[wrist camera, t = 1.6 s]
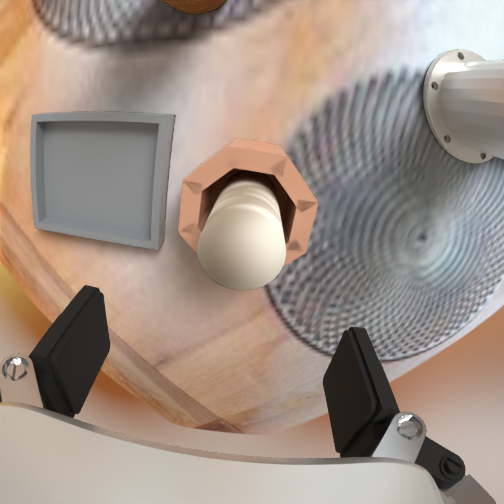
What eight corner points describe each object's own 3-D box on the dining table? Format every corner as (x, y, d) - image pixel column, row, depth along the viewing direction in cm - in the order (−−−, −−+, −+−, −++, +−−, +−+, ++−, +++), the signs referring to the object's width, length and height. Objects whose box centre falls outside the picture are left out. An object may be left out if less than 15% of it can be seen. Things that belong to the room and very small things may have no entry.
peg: (281, 174, 27) (294, 218, 16) (270, 225, 29) (276, 296, 19) (226, 165, 27) (201, 203, 16) (219, 216, 29) (193, 283, 18)
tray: (175, 114, 26) (168, 115, 24) (164, 241, 32) (158, 250, 30) (43, 113, 25) (31, 114, 23) (45, 221, 31) (34, 228, 29)
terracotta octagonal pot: (311, 151, 27) (327, 164, 21) (290, 248, 31) (296, 284, 25) (204, 133, 27) (187, 140, 20) (193, 232, 31) (176, 265, 25)
